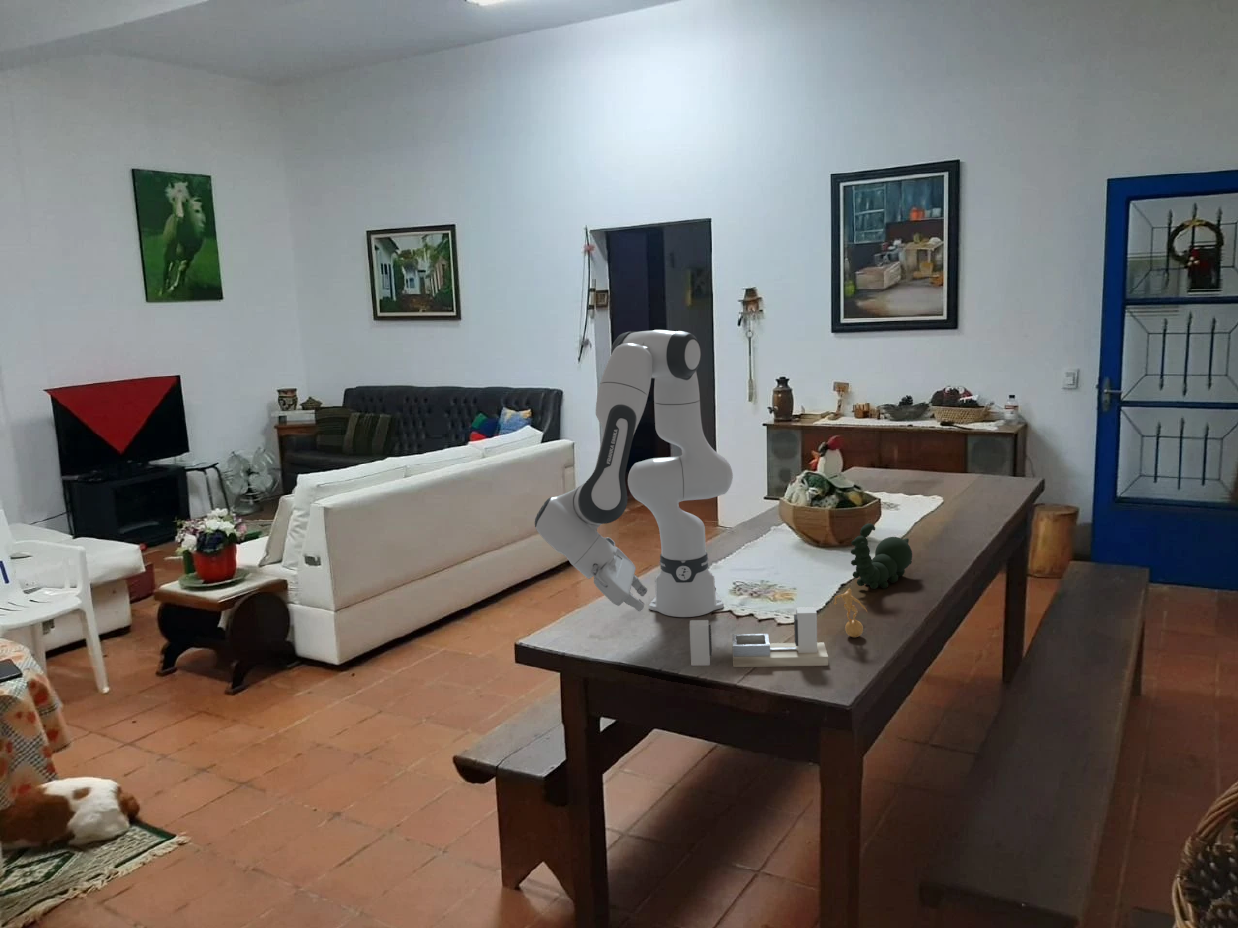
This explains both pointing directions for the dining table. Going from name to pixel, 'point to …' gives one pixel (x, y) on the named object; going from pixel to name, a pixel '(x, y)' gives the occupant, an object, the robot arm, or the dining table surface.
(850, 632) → the figurine
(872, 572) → the toy figurine
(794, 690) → the dining table surface
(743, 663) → the rail
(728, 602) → the dining table surface
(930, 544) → the dining table surface
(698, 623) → the block
